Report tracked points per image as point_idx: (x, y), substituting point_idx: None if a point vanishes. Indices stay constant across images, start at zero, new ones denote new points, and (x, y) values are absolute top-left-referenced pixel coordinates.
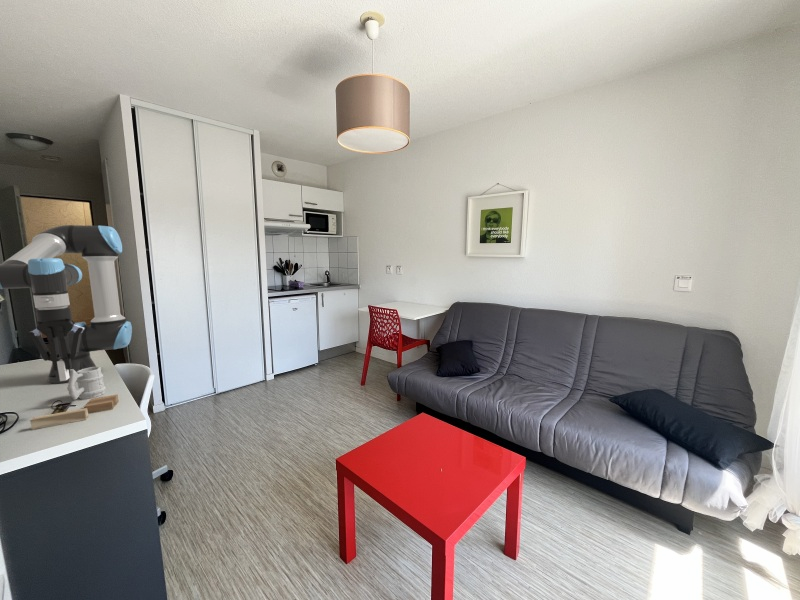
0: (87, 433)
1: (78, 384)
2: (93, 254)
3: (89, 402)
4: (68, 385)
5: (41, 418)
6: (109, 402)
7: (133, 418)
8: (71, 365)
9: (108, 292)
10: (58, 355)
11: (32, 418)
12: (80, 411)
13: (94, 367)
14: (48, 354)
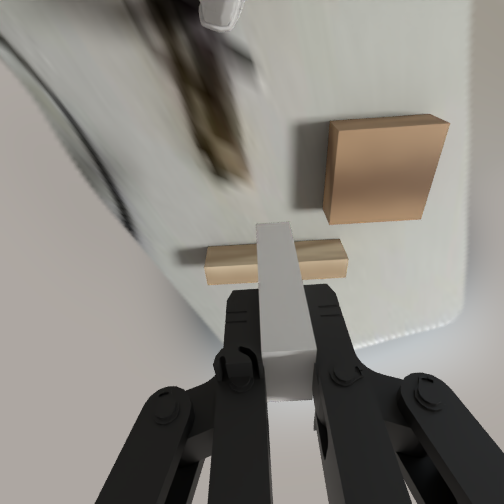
0: (357, 332)
1: None
2: None
3: (341, 185)
4: (207, 21)
5: (234, 282)
6: (412, 218)
7: (453, 299)
8: (337, 305)
9: None
10: (261, 420)
11: (206, 274)
12: (334, 277)
13: None
14: (164, 459)
